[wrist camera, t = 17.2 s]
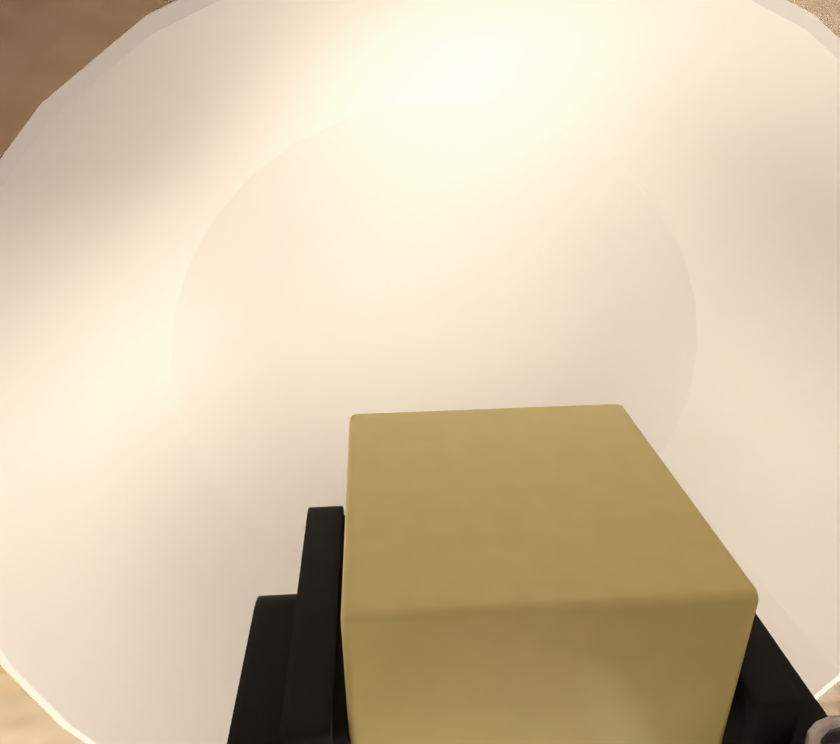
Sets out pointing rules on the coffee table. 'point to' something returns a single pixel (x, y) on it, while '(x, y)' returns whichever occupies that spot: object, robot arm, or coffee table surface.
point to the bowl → (399, 303)
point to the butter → (532, 584)
